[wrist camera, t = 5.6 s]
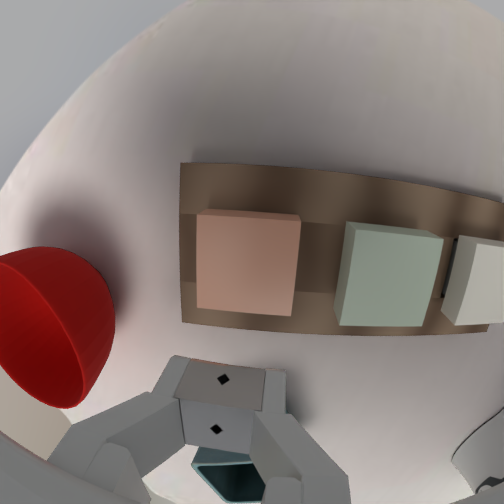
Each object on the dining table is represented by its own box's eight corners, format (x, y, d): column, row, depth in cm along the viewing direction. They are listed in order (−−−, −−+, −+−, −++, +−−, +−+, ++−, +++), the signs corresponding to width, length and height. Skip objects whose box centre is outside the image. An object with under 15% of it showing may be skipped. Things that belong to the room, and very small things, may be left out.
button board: (502, 202, 20) (518, 207, 17) (474, 319, 23) (486, 331, 21) (190, 162, 21) (180, 162, 19) (190, 307, 25) (182, 322, 22)
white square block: (492, 235, 19) (526, 250, 15) (476, 298, 21) (505, 322, 17) (443, 227, 20) (477, 243, 15) (427, 297, 22) (454, 325, 17)
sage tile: (412, 223, 20) (443, 239, 15) (397, 296, 22) (421, 326, 17) (338, 214, 20) (355, 229, 16) (327, 292, 22) (339, 325, 17)
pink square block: (295, 209, 21) (301, 221, 17) (288, 285, 23) (291, 316, 18) (213, 203, 22) (196, 214, 17) (212, 279, 23) (196, 307, 19)
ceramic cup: (10, 272, 26) (-48, 305, 17) (95, 202, 23) (13, 227, 13) (64, 363, 29) (20, 413, 20) (165, 329, 26) (120, 402, 16)
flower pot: (308, 434, 29) (312, 498, 20) (235, 444, 30) (225, 504, 21) (292, 382, 26) (295, 456, 18) (208, 395, 28) (188, 463, 19)
